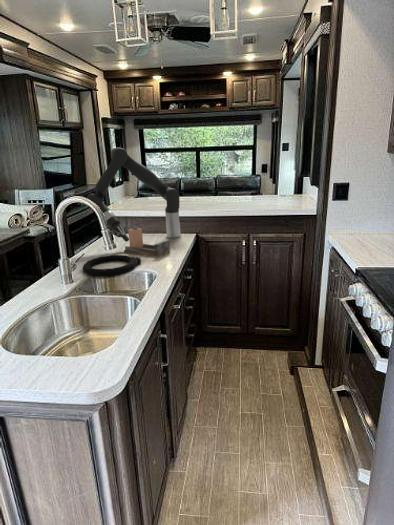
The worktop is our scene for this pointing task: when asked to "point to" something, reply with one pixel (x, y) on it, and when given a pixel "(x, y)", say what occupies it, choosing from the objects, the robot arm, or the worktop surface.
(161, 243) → the channel board
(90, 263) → the cable lock
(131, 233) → the block
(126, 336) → the worktop surface
